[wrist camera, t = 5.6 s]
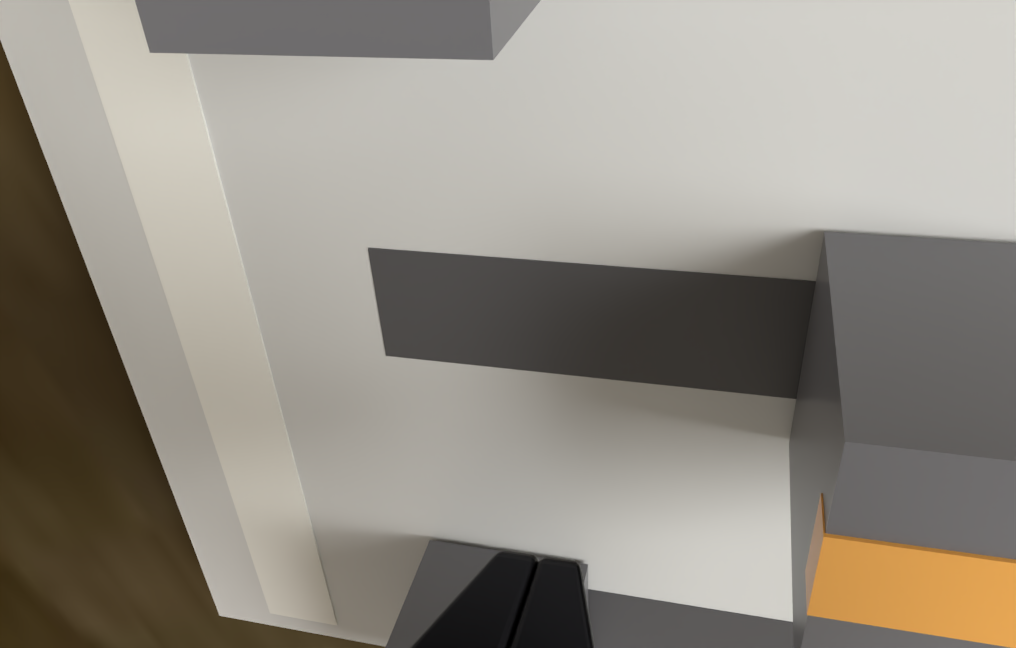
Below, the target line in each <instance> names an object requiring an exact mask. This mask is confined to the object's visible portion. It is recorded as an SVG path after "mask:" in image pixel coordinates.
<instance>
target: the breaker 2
mask: <svg viewBox="0 0 1016 648" xmlns="http://www.w3.org/2000/svg"><path fill="white" fill-rule="evenodd" d="M498 552H500V551H498V550H491V549H485V548H478V547H472V546H465V545H459V544H452V543H446V542H440V541H433V540H429V543H428V545H427V548H426V550H425V553H424V555H423V557H422V560H421V562H420V565H419V567H418V569H417V572H416V574H415V577H414V579H413V582H412V584H411V586H410V589H409V591H408V594H407V596H406V599H405V601H404V603H403V606H402V608H401V611H400V613H399V616H398V618H397V620H396V623H395V625H394V628H393V630H392V633H391V635H390V637H389V640H388V642H387V645H386V647H385V648H410V647H411V645H412V644H413V643H414V642H415V641H416V640H417V639H418V638H419V637H420V636H421V635H422V633H423V632H424V631H425V630H426V629H427V628H428V627H429V626H430V625H431V624H432V623H433V621H434V620H435V619H436V618H437V617H438V616H439V615H440V614H441V613H442V612H443V611H444V609H445V608H446V607H447V606H448V605H449V604H450V603H451V602H452V601H453V600H454V599H455V597H456V596H457V595H458V594H459V593H460V592H461V591H462V590H463V589H464V588H465V587H466V585H467V584H468V583H469V582H470V581H471V580H472V579H473V578H474V577H475V576H476V575H477V573H478V572H479V571H480V570H481V569H482V568H483V567H484V566H485V565H486V564H487V563H488V561H489V560H490V559H491V558H492V557H493V556H494V555H495V554H496V553H498ZM541 558H543V557H538V559H539V561H540V559H541ZM579 565H580V566H581V570H582V575H583V581H584V587H585V593H586V599H587V605H588V564H582V563H579Z"/></svg>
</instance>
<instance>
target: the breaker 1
mask: <svg viewBox="0 0 1016 648" xmlns="http://www.w3.org/2000/svg"><path fill="white" fill-rule="evenodd" d="M540 1H541V0H135V3H136V6H137V10H138V13H139V17H140V20H141V23H142V27H143V30H144V34H145V37H146V41H147V44H148V48H149V51H150V53H185V54H231V55H277V56H323V57H369V58H414V59H460V60H494V59H495V57H496V56H497V55H498V54H499V52H500V51H501V50H502V49H503V47H504V46H505V45H506V44H507V42H508V41H509V40H510V39H511V37H512V36H513V35H514V34H515V32H516V31H517V30H518V29H519V27H520V26H521V25H522V23H523V22H524V21H525V20H526V18H527V17H528V16H529V15H530V13H531V12H532V11H533V10H534V8H535V7H536V6H537V5H538V3H539V2H540Z"/></svg>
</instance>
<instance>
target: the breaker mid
mask: <svg viewBox="0 0 1016 648" xmlns="http://www.w3.org/2000/svg"><path fill="white" fill-rule="evenodd" d="M789 469H790V514H791V559H792V604H793V648H1016V243H1002V242H986V241H970V240H954V239H938V238H922V237H906V236H890V235H874V234H858V233H842V232H826V231H824V236H823V242H822V248H821V254H820V260H819V266H818V272H817V278H816V284H815V290H814V296H813V302H812V308H811V314H810V320H809V326H808V332H807V338H806V344H805V350H804V356H803V362H802V368H801V374H800V380H799V386H798V392H797V398H796V404H795V410H794V416H793V422H792V428H791V434H790V440H789Z"/></svg>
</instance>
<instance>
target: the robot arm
mask: <svg viewBox="0 0 1016 648" xmlns="http://www.w3.org/2000/svg"><path fill="white" fill-rule="evenodd" d="M410 648H595V646H594V640H593V634H592V628H591V622H590V617H589V611H588V605H587V599H586V593H585V587H584V581H583V575H582V570H581V566H580V565H579V563H578V562H576V561H573V560H567V559H560V558H554V557H543V558H541V559H540V561H539V559H538V557H536V556H535V555H533V554H528V553H521V552H514V551H508V550H502V551H500V552H498V553H496V554H495V555H494V556H493V557H492V558H491V559H490V560H489V561H488V563H487V564H486V565H485V566H484V567H483V568H482V569H481V570H480V571H479V572H478V573H477V575H476V576H475V577H474V578H473V579H472V580H471V581H470V582H469V583H468V584H467V585H466V587H465V588H464V589H463V590H462V591H461V592H460V593H459V594H458V595H457V596H456V597H455V599H454V600H453V601H452V602H451V603H450V604H449V605H448V606H447V607H446V608H445V609H444V611H443V612H442V613H441V614H440V615H439V616H438V617H437V618H436V619H435V620H434V621H433V623H432V624H431V625H430V626H429V627H428V628H427V629H426V630H425V631H424V632H423V633H422V635H421V636H420V637H419V638H418V639H417V640H416V641H415V642H414V643H413V644H412V645H411V647H410Z"/></svg>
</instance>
